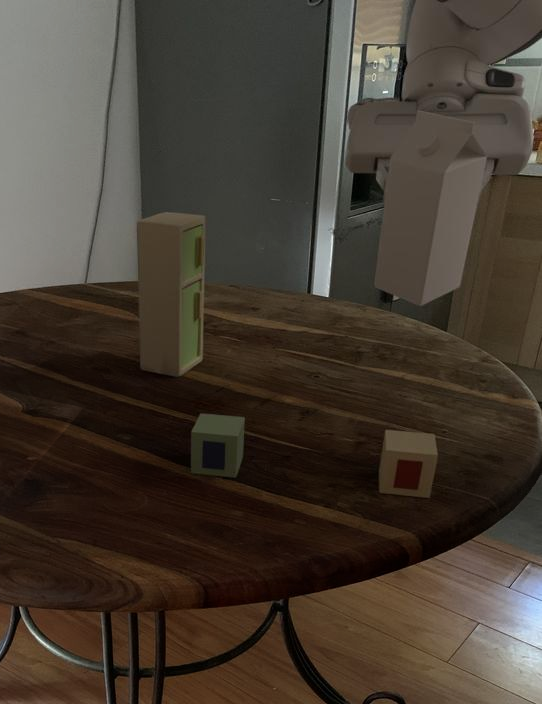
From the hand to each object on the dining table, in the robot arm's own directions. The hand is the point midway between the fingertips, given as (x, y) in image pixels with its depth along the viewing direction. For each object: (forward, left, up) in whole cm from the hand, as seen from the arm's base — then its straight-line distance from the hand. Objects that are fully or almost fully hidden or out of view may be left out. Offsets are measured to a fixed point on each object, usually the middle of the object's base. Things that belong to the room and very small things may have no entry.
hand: (431, 200), depth 83 cm
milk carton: (0, -1, -10) cm, 10 cm away
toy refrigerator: (+32, -9, -25) cm, 42 cm away
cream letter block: (0, +21, -25) cm, 33 cm away
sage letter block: (+20, +21, -25) cm, 39 cm away
